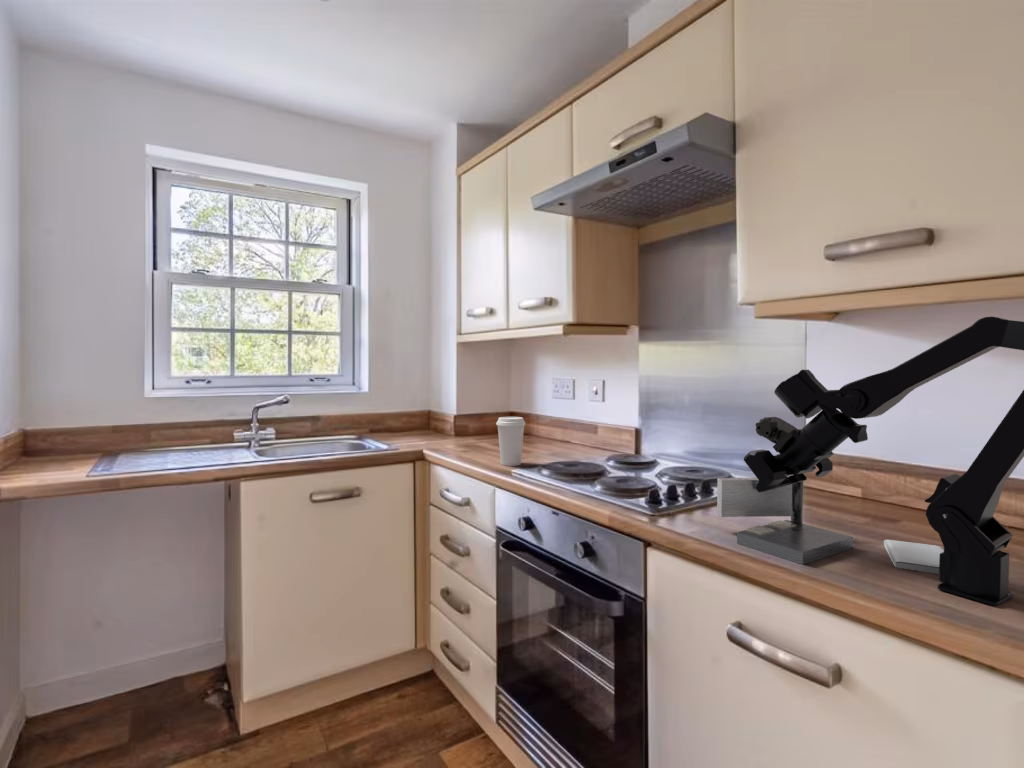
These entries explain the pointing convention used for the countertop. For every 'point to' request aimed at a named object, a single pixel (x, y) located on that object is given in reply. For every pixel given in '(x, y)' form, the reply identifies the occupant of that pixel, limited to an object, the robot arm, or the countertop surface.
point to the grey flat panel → (751, 499)
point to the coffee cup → (510, 440)
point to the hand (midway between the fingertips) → (759, 489)
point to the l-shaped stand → (795, 536)
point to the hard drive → (914, 555)
